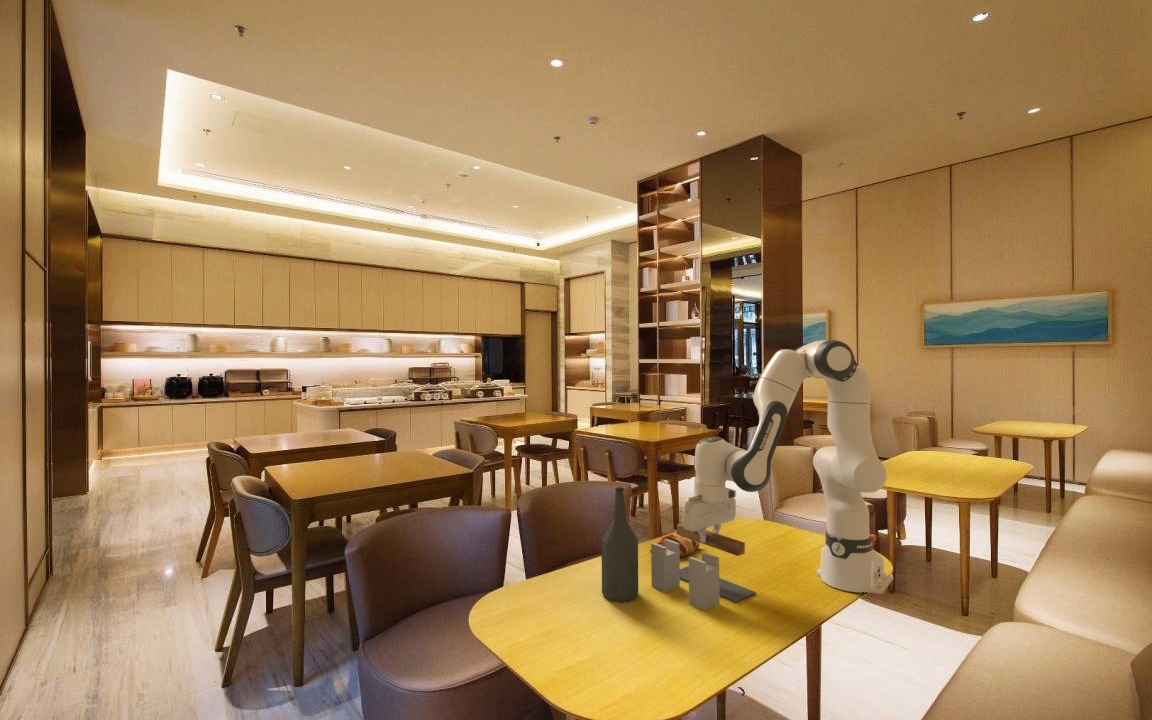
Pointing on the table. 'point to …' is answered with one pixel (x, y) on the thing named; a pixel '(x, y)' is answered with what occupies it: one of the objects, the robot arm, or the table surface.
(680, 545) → the croissant
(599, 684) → the table surface
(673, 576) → the post
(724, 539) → the rail
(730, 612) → the table surface
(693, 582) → the post
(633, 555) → the bottle
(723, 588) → the mat
